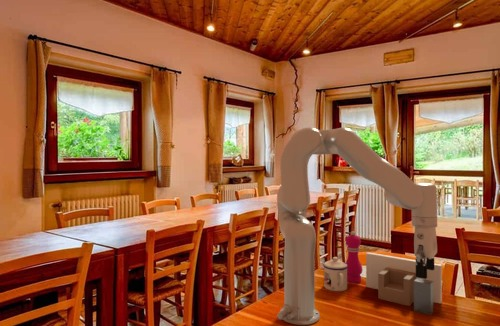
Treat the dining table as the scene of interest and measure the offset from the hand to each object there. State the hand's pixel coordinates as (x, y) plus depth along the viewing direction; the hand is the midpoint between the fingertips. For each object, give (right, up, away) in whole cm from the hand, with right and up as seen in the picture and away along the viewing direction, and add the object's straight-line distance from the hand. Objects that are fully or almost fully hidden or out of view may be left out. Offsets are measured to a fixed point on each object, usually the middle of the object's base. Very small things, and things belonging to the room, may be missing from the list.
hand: (425, 273), depth 119 cm
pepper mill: (-15, -12, +30) cm, 36 cm away
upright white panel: (-4, -12, +12) cm, 17 cm away
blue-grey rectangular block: (0, -13, 0) cm, 12 cm away
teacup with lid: (-24, -12, +21) cm, 34 cm away
